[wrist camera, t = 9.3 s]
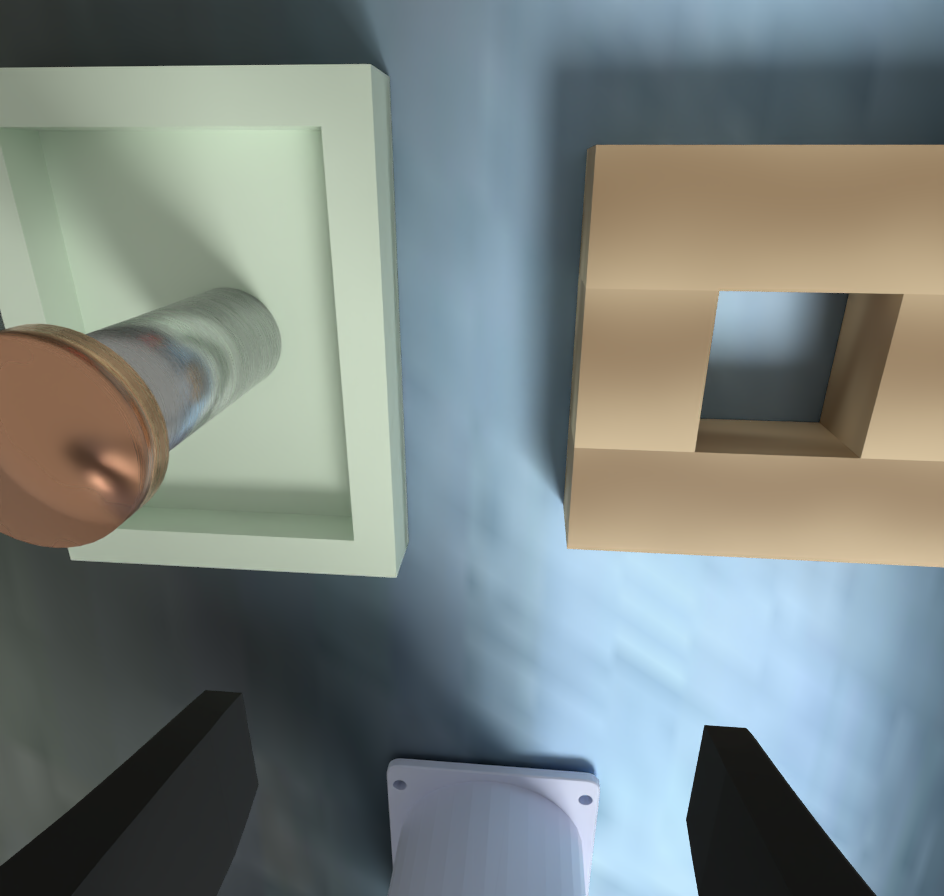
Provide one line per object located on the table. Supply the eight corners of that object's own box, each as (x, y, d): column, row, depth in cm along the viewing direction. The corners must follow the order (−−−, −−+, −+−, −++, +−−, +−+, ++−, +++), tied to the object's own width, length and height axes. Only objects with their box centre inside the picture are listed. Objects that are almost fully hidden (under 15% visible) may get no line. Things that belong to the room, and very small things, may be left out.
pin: (305, 404, 19) (157, 552, 11) (179, 400, 19) (-44, 542, 12) (291, 269, 17) (110, 340, 10) (154, 267, 17) (-119, 335, 10)
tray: (408, 542, 21) (396, 577, 19) (110, 527, 22) (71, 560, 20) (389, 77, 16) (370, 64, 14) (-2, 80, 16) (-69, 68, 15)
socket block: (902, 520, 19) (953, 567, 17) (563, 505, 20) (567, 548, 18) (1015, 149, 15) (1101, 144, 13) (587, 149, 16) (596, 144, 14)
